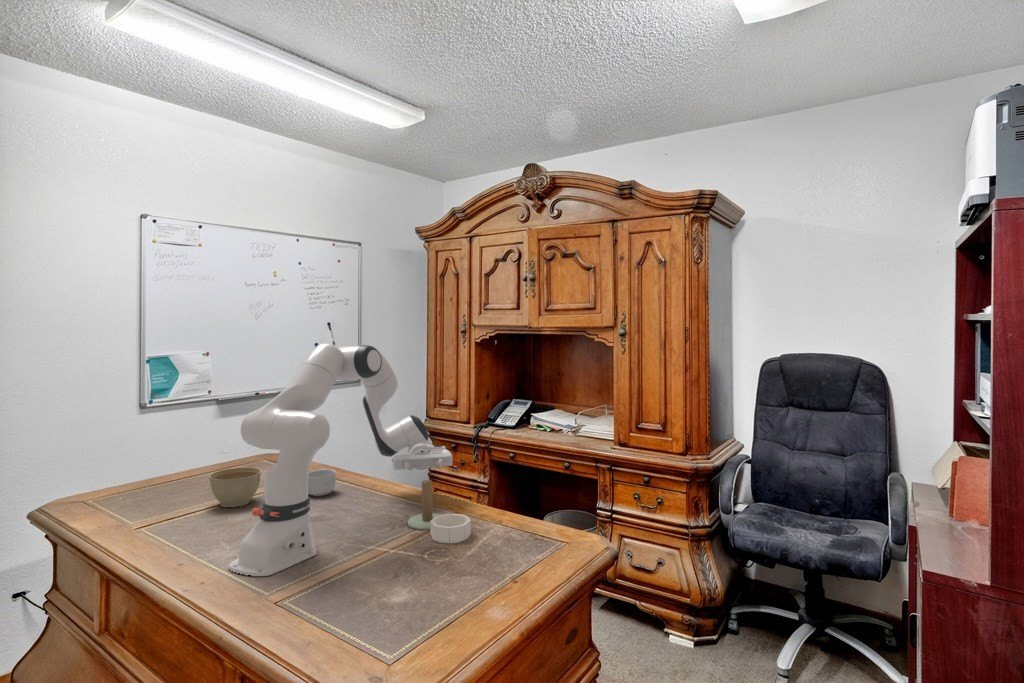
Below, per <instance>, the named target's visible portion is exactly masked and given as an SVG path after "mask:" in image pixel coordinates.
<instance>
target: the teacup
mask: <svg viewBox="0 0 1024 683" xmlns="http://www.w3.org/2000/svg"><path fill="white" fill-rule="evenodd" d="M335 487H336V470H335V469H332V468H329V469H328V468H321V469H316V470H312V471H309V472H308V495H310V496H312V495H313V497H323V495H324V496H327V495H329V494H330V493H332V491H333V490H334V489H335Z"/></svg>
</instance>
